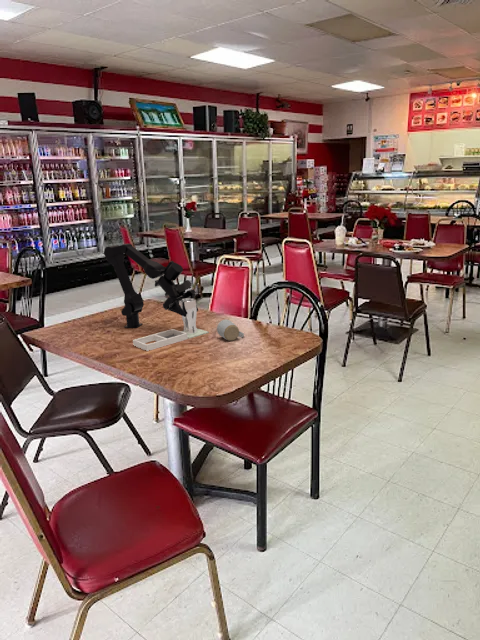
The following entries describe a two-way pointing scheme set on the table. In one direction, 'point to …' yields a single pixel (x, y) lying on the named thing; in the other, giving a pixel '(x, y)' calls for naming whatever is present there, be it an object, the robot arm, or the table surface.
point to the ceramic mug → (228, 330)
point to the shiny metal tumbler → (189, 315)
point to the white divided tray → (164, 339)
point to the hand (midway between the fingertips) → (191, 313)
